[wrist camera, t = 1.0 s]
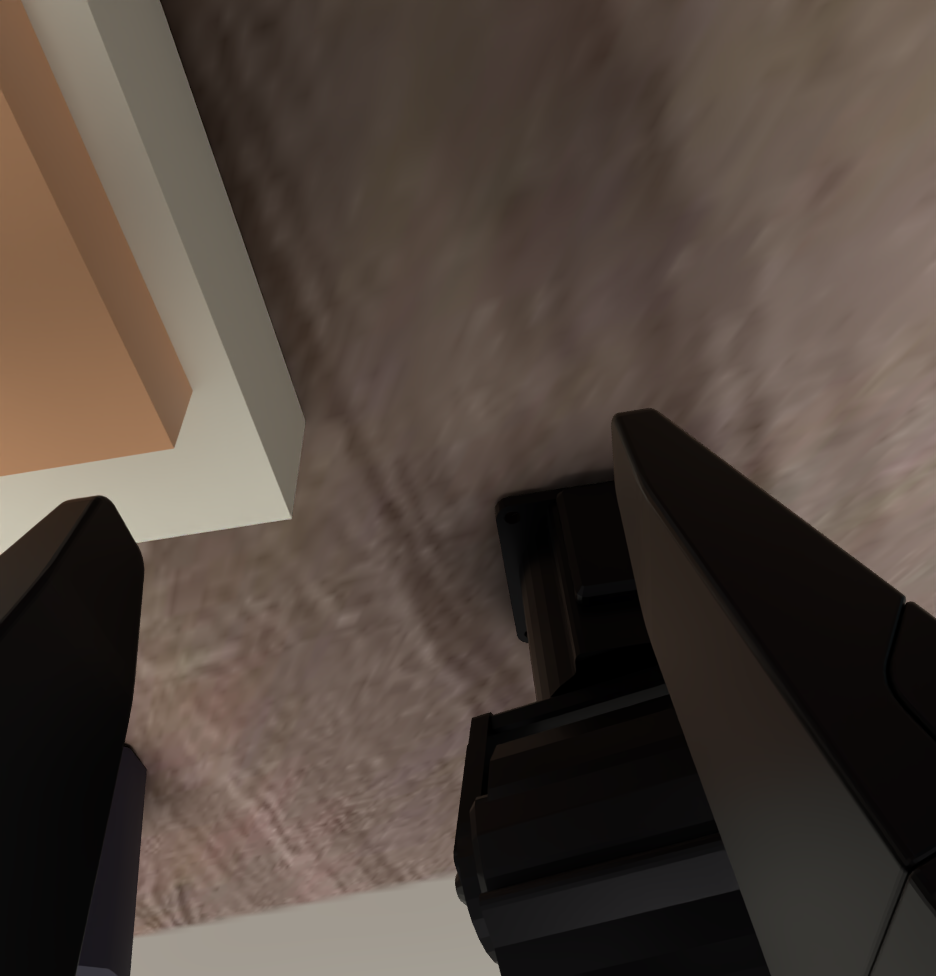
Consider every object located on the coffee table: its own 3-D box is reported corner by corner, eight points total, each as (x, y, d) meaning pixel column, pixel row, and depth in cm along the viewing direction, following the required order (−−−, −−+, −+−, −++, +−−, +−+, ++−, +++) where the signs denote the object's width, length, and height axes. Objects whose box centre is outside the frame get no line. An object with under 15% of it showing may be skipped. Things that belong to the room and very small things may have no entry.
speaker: (-83, 755, 33) (-188, 1073, 25) (4, 684, 31) (-82, 1005, 23) (95, 809, 37) (51, 1091, 30) (181, 750, 35) (156, 1036, 28)
